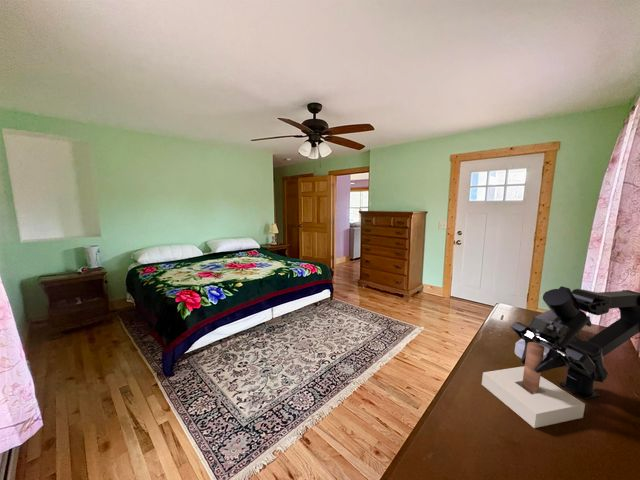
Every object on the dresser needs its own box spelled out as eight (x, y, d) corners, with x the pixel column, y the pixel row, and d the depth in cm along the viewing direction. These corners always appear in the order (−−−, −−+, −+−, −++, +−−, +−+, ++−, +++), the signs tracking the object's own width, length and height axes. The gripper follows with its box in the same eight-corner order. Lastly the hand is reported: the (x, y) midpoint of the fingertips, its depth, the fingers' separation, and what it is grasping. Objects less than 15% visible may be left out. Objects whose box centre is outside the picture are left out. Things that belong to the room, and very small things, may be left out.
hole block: (523, 377, 83) (524, 366, 82) (582, 417, 68) (585, 404, 67) (481, 384, 80) (483, 372, 79) (534, 428, 64) (536, 413, 64)
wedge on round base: (523, 343, 103) (510, 354, 96) (526, 328, 102) (512, 337, 95) (553, 355, 96) (540, 366, 89) (555, 338, 95) (543, 348, 88)
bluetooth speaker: (547, 323, 122) (550, 303, 120) (574, 332, 114) (577, 310, 112) (525, 335, 110) (528, 313, 109) (553, 346, 102) (557, 322, 101)
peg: (521, 381, 76) (527, 340, 74) (537, 387, 73) (543, 344, 72) (522, 388, 73) (527, 346, 71) (538, 394, 71) (545, 350, 69)
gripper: (519, 296, 80) (486, 333, 79) (594, 324, 62) (552, 373, 61) (536, 318, 82) (504, 354, 82) (613, 351, 64) (572, 397, 64)
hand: (529, 367), depth 72 cm, fingers closed on peg, 4 cm apart
